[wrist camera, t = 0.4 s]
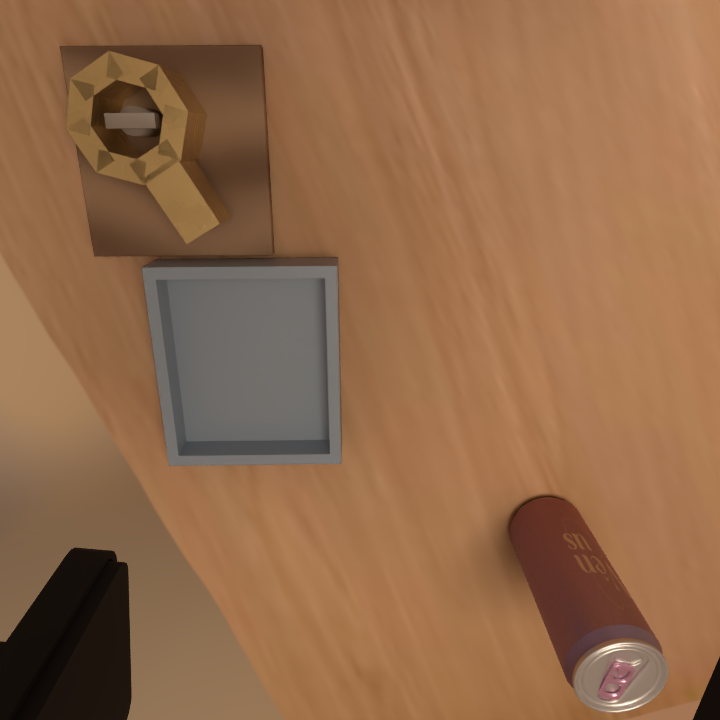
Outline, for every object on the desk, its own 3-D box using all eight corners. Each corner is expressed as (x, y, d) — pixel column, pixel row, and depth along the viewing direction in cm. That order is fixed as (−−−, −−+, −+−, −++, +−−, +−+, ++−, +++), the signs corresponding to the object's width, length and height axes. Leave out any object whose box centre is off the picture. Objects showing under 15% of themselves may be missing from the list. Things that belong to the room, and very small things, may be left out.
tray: (156, 258, 40) (141, 267, 38) (338, 257, 41) (337, 266, 38) (180, 445, 46) (168, 465, 43) (341, 444, 46) (341, 463, 43)
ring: (79, 103, 36) (43, 97, 32) (163, 44, 35) (137, 30, 31) (180, 248, 39) (159, 261, 35) (259, 198, 38) (248, 205, 34)
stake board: (67, 48, 36) (24, 34, 31) (262, 47, 36) (249, 33, 31) (100, 253, 40) (67, 268, 36) (274, 252, 40) (264, 266, 36)
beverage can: (497, 544, 49) (554, 705, 35) (523, 485, 47) (595, 630, 33) (562, 560, 50) (645, 723, 36) (591, 502, 48) (690, 651, 34)
